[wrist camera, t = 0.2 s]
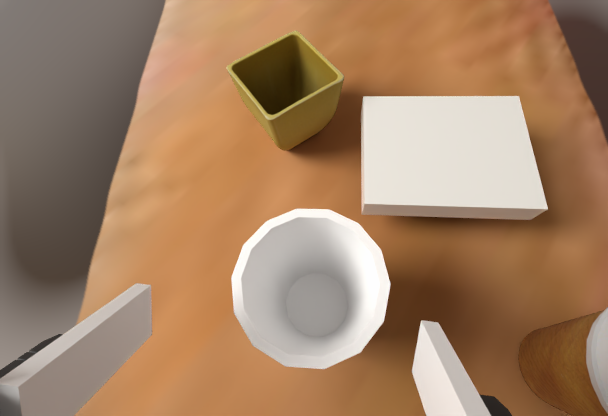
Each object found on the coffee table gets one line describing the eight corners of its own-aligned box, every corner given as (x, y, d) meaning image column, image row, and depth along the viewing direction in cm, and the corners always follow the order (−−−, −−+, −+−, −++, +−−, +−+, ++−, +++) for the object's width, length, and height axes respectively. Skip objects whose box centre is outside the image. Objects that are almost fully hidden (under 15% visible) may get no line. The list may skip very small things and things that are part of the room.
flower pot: (302, 90, 41) (296, 27, 33) (342, 133, 38) (346, 76, 30) (245, 122, 40) (224, 65, 32) (282, 170, 37) (268, 121, 28)
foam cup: (365, 259, 32) (386, 210, 20) (367, 360, 28) (395, 374, 16) (273, 256, 33) (241, 207, 21) (264, 353, 29) (219, 361, 17)
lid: (530, 219, 28) (548, 209, 26) (361, 214, 30) (364, 203, 27) (505, 113, 33) (518, 96, 31) (361, 112, 34) (363, 96, 32)
